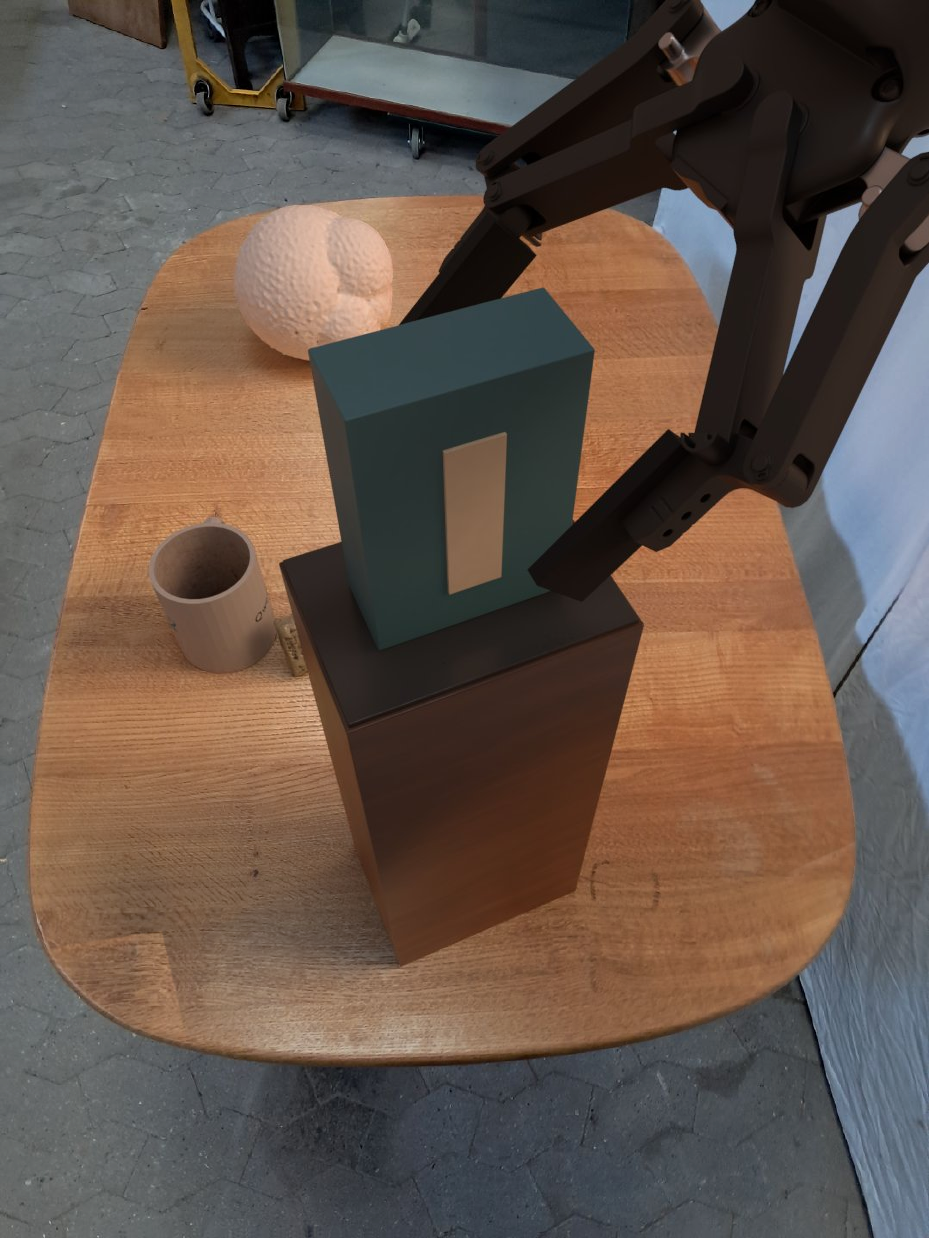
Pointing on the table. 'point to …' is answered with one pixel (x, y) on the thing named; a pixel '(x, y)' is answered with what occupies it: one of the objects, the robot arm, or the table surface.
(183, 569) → the mug
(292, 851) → the table surface
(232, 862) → the table surface
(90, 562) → the table surface
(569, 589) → the robot arm
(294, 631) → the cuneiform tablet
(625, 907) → the table surface
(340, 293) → the decorative orb
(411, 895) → the pedestal
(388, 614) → the teal box
